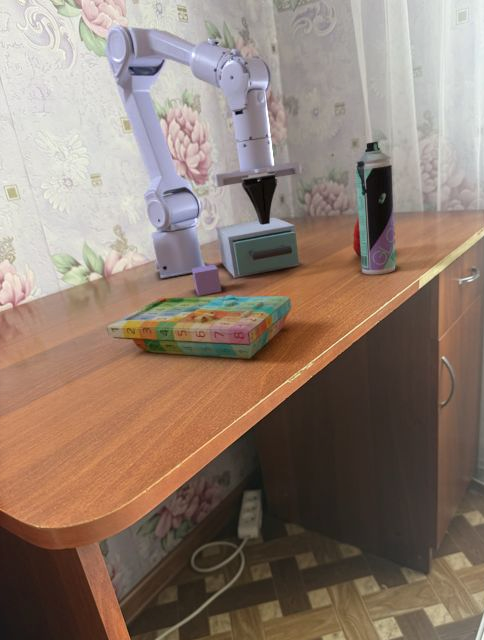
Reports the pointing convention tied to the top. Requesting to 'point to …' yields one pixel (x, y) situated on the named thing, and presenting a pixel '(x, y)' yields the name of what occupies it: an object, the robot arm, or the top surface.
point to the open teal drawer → (266, 252)
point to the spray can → (375, 211)
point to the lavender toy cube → (206, 280)
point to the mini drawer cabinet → (246, 231)
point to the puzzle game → (205, 325)
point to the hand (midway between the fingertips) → (264, 223)
